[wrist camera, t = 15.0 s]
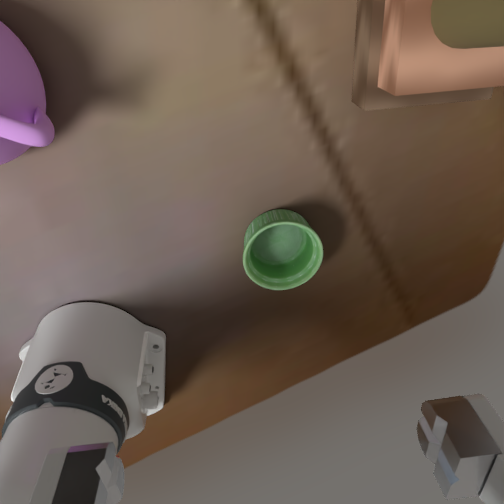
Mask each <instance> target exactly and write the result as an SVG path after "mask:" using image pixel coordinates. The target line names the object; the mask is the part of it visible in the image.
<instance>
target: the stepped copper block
mask: <svg viewBox="0 0 504 504" xmlns="http://www.w3.org/2000/svg"><path fill="white" fill-rule="evenodd" d="M432 1H433V0H358V4H357V21H356V37H355V54H354V71H353V87H352V102H353V103H355V104H356V105H357V106H359V107H360V108H362V109H363V110H364V111H368V110H379V109H389V108H400V107H410V106H421V105H432V104H442V103H453V102H464V101H474V100H485V99H491V96H492V92H493V88H494V87H497V86H504V46H502V47H486V48H469V49H457V48H451V47H449V46H447V45H445V44H443V43H442V42H441V41H440V40H439V39H438V38H437V36H436V35H435V33H434V30H433V27H432V24H431V5H432Z"/></svg>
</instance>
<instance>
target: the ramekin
mask: <svg viewBox="0 0 504 504" xmlns="http://www.w3.org/2000/svg"><path fill="white" fill-rule="evenodd" d="M322 259H323V246H322V242H321V240H320V238H319V236H318V235H317V234H316V232H315V231H314V230H313V229H312V228H311V227H310V226H309V224H308V222H307V221H306V220H305V219H304V218H303V217H302V216H301V215H299V214H298V213H296V212H293V211H290V210H284V209H277V210H271V211H268V212H265V213H263V214H261V215H260V216H258V217H257V218H256V219H254V220H253V221H252V223H251V224H250V225H249V227H248V228H247V231H246V233H245V238H244V252H243V265H244V269H245V271H246V273H247V275H248V276H249V278H250V279H251V280H252V281H253V282H255V283H256V284H258V285H259V286H261V287H264V288H267V289H271V290H287V289H291V288H295V287H297V286H300V285H302V284H304V283H305V282H307V281H308V280H309V279H310V278H311V277H313V275H314V274H315V273H316V272H317V270H318V269H319V267H320V265H321V263H322Z"/></svg>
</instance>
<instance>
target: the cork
mask: <svg viewBox="0 0 504 504" xmlns="http://www.w3.org/2000/svg"><path fill="white" fill-rule="evenodd" d="M431 24H432V27H433V30H434V33H435V35H436V36H437V38H438V39H439V40H440V41H441V42H442V43H443V44H445V45H447V46H449V47H451V48H457V49H469V48H486V47H502V46H504V0H433V1H432V5H431Z"/></svg>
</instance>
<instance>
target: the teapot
mask: <svg viewBox="0 0 504 504" xmlns="http://www.w3.org/2000/svg"><path fill="white" fill-rule="evenodd" d="M54 135H55V130H54V126H53V124H52V122H51V120H50V119H49V117H48V116H47V115H46V96H45V89H44V85H43V81H42V78H41V75H40V72H39V70H38V67H37V65H36V63H35V61H34V59H33V58H32V56H31V55H30V53H29V51H28V50H27V48H26V47H25V46H24V44H23V43H22V42H21V41H20V39H19V38H18V37H17V36H16V35H15V34H14V33H13V32H12V31H11V30H10V29H9V28H8V27H7V26H6V25H5V24H3V23H2V22H1V21H0V165H1V164H4V163H7V162H9V161H11V160H13V159H15V158H17V157H18V156H20V155H21V154H23V153H24V152H26V151H27V150H28V149H29V148H30V147H31V146H37V147H43V146H47V145H49V144H50V143H52V141H53V139H54Z"/></svg>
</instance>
